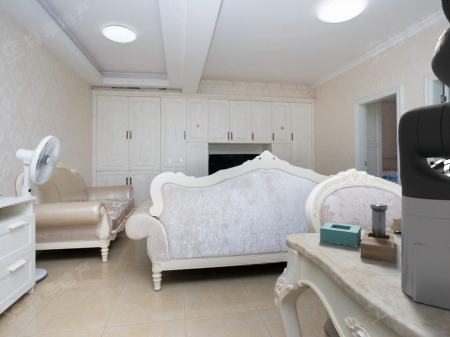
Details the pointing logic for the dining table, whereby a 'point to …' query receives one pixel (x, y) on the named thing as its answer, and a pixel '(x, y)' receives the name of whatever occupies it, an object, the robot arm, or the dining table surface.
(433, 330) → the dining table surface
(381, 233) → the axle
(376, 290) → the dining table surface
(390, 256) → the beam
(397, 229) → the decorative ornament
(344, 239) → the holder
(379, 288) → the dining table surface
